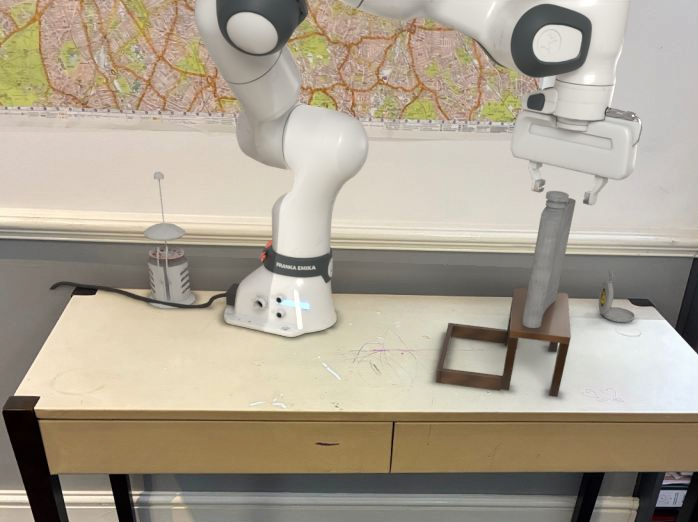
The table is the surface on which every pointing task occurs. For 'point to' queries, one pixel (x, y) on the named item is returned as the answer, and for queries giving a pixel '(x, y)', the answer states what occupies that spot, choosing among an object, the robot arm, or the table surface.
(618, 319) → the pocket watch
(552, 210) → the hip flask
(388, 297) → the table surface
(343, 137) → the robot arm
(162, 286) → the french press
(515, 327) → the shelf stand
